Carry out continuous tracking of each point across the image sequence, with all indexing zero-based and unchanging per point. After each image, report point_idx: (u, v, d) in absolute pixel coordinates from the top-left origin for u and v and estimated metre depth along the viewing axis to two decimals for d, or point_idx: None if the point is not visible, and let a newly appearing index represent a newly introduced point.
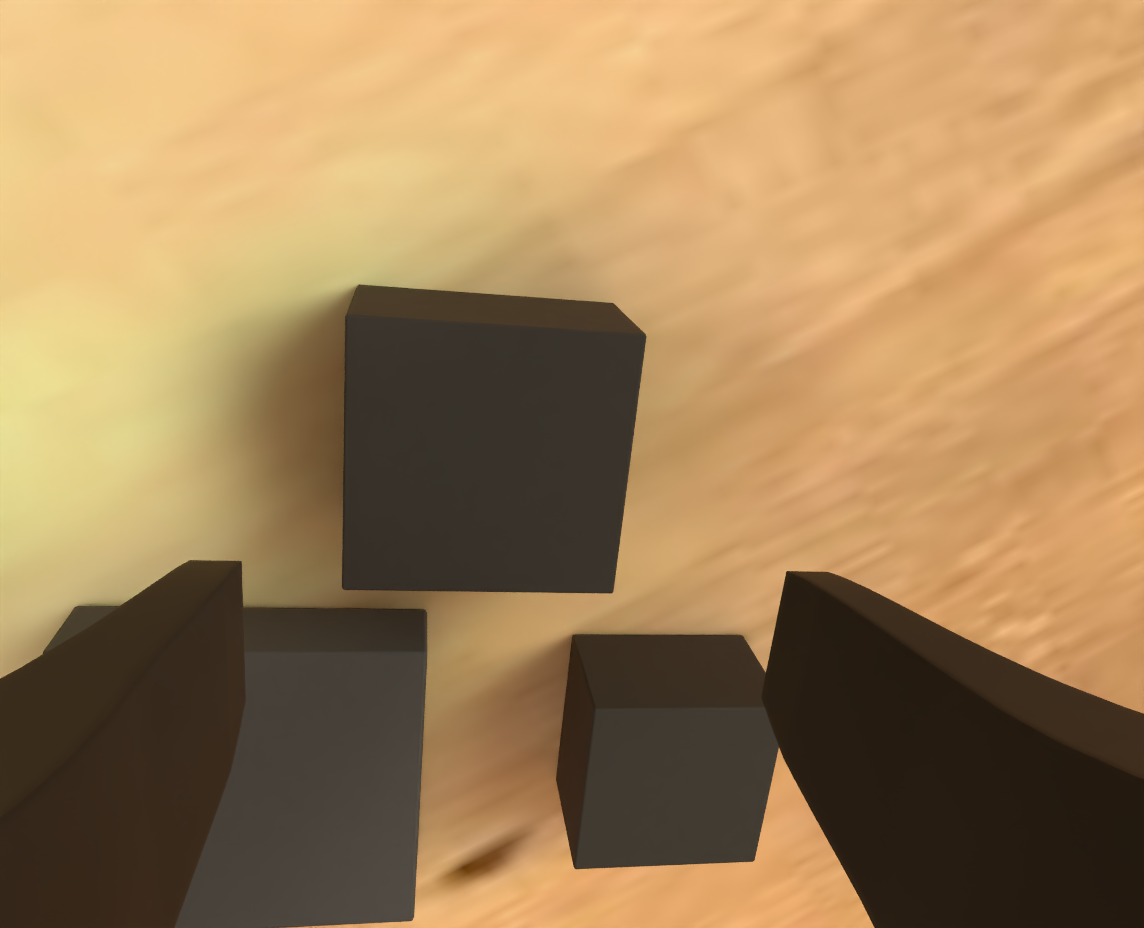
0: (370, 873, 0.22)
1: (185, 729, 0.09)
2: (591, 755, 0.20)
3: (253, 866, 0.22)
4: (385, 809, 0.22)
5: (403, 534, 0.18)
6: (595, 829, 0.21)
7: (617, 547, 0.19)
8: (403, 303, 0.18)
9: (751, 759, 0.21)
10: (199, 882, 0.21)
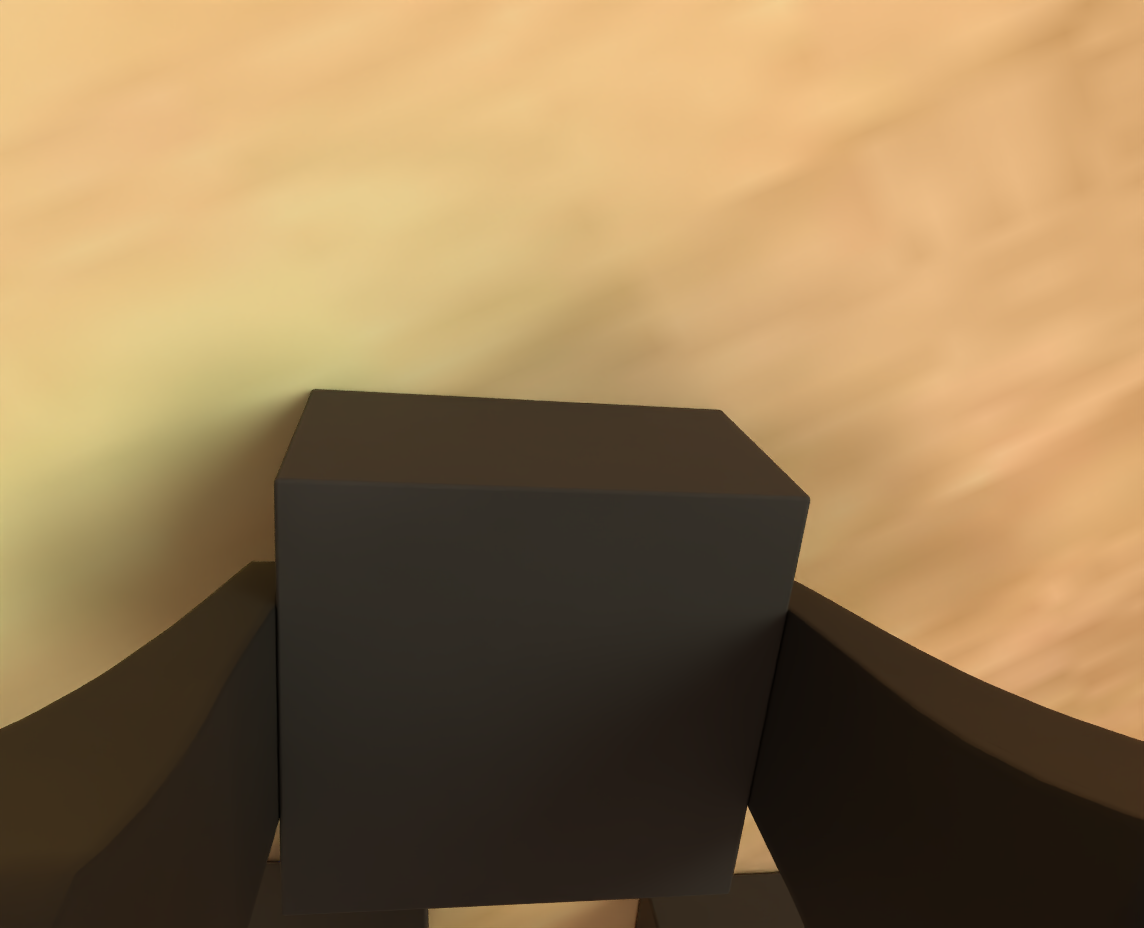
0: None
1: (261, 728, 0.09)
2: None
3: None
4: None
5: (384, 828, 0.10)
6: None
7: (740, 827, 0.11)
8: (384, 436, 0.10)
9: None
10: None
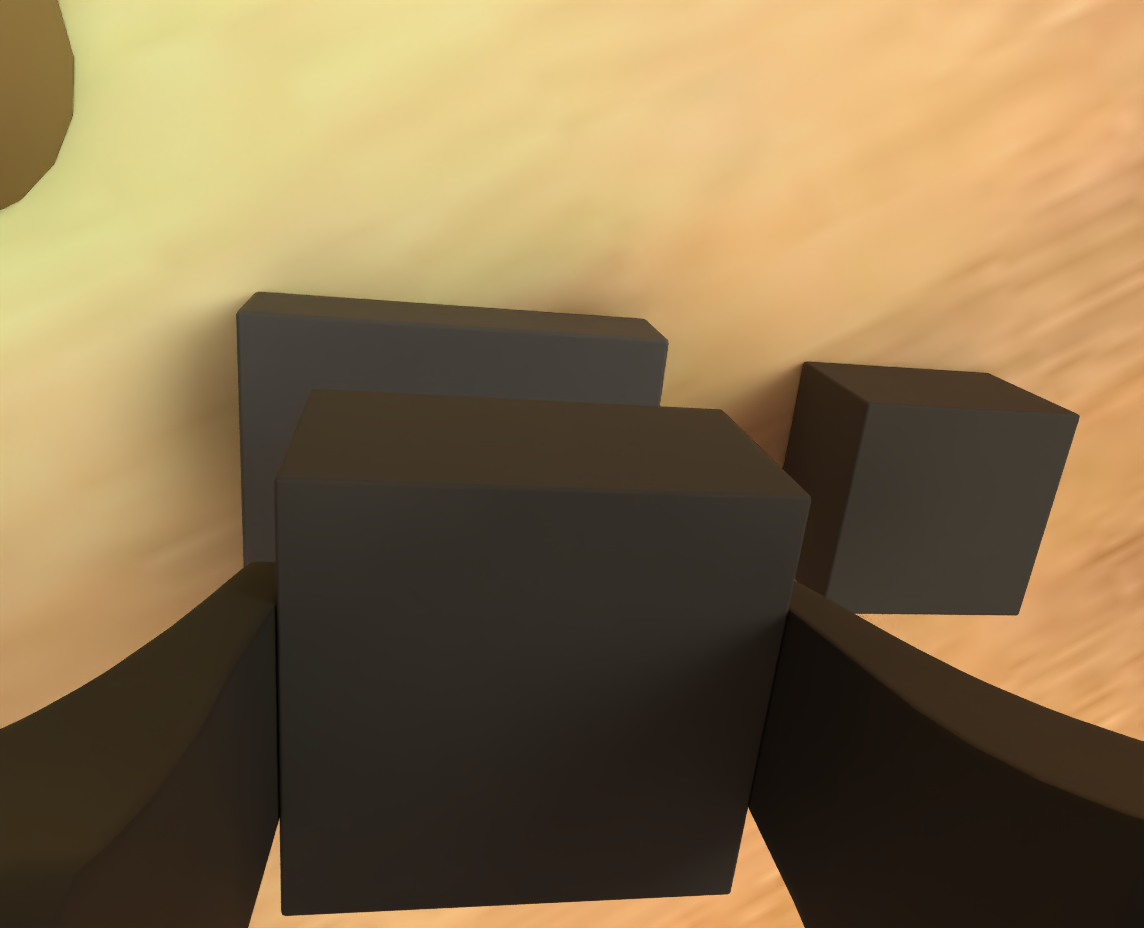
0: None
1: (261, 729, 0.09)
2: (858, 465, 0.18)
3: None
4: None
5: (384, 829, 0.10)
6: (851, 562, 0.18)
7: (741, 828, 0.11)
8: (384, 435, 0.10)
9: (1032, 481, 0.18)
10: None
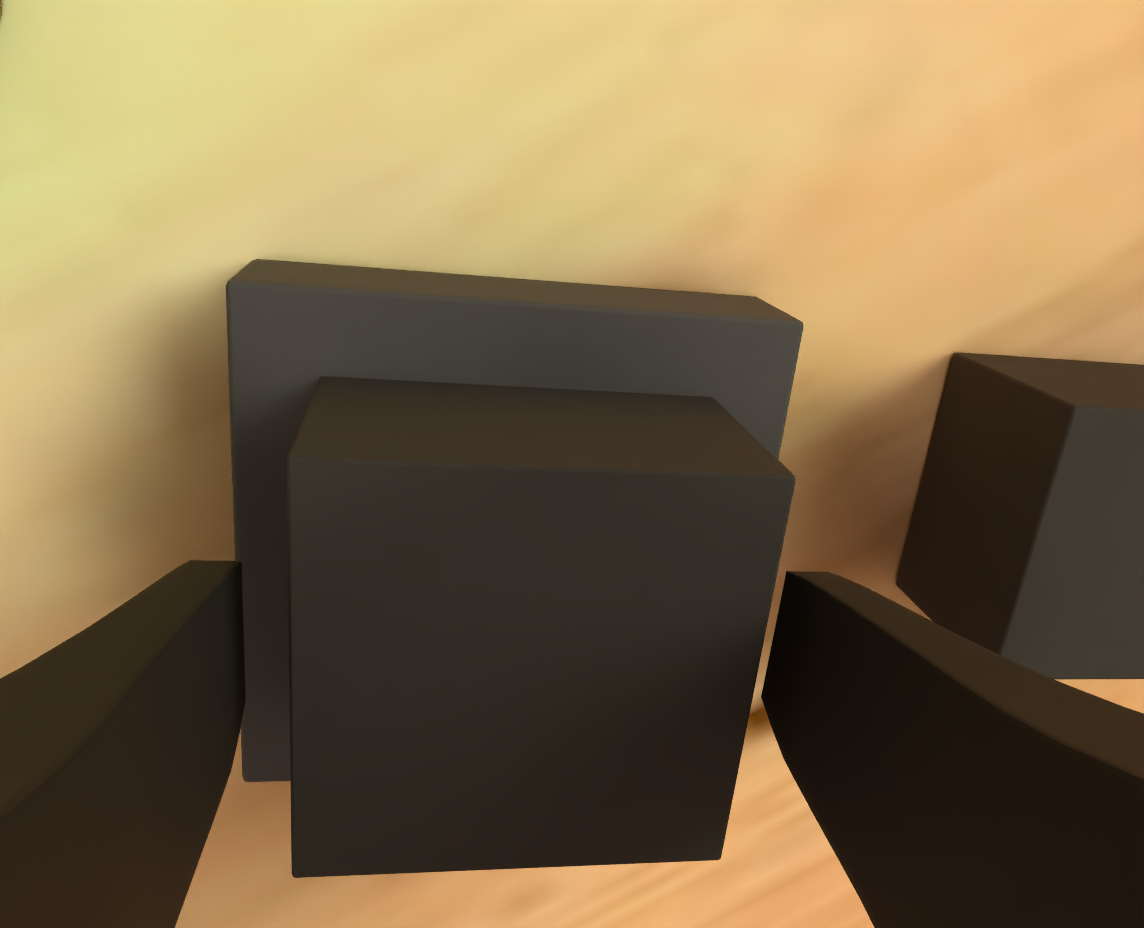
0: None
1: (186, 729, 0.09)
2: (1054, 487, 0.13)
3: None
4: None
5: (389, 793, 0.11)
6: (1034, 614, 0.14)
7: (731, 795, 0.12)
8: (390, 419, 0.11)
9: None
10: None
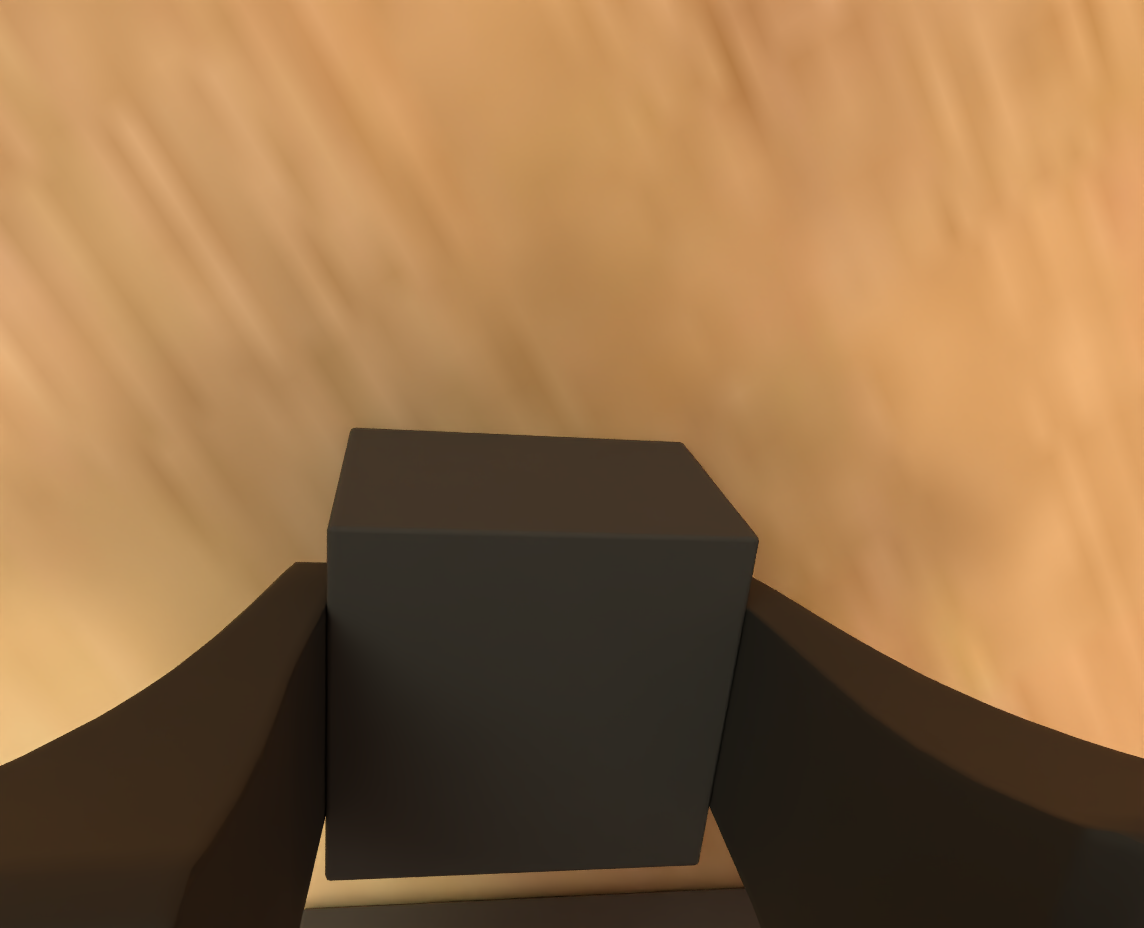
0: None
1: (313, 727, 0.09)
2: (433, 873, 0.11)
3: None
4: None
5: None
6: (609, 845, 0.11)
7: None
8: None
9: (468, 586, 0.09)
10: None
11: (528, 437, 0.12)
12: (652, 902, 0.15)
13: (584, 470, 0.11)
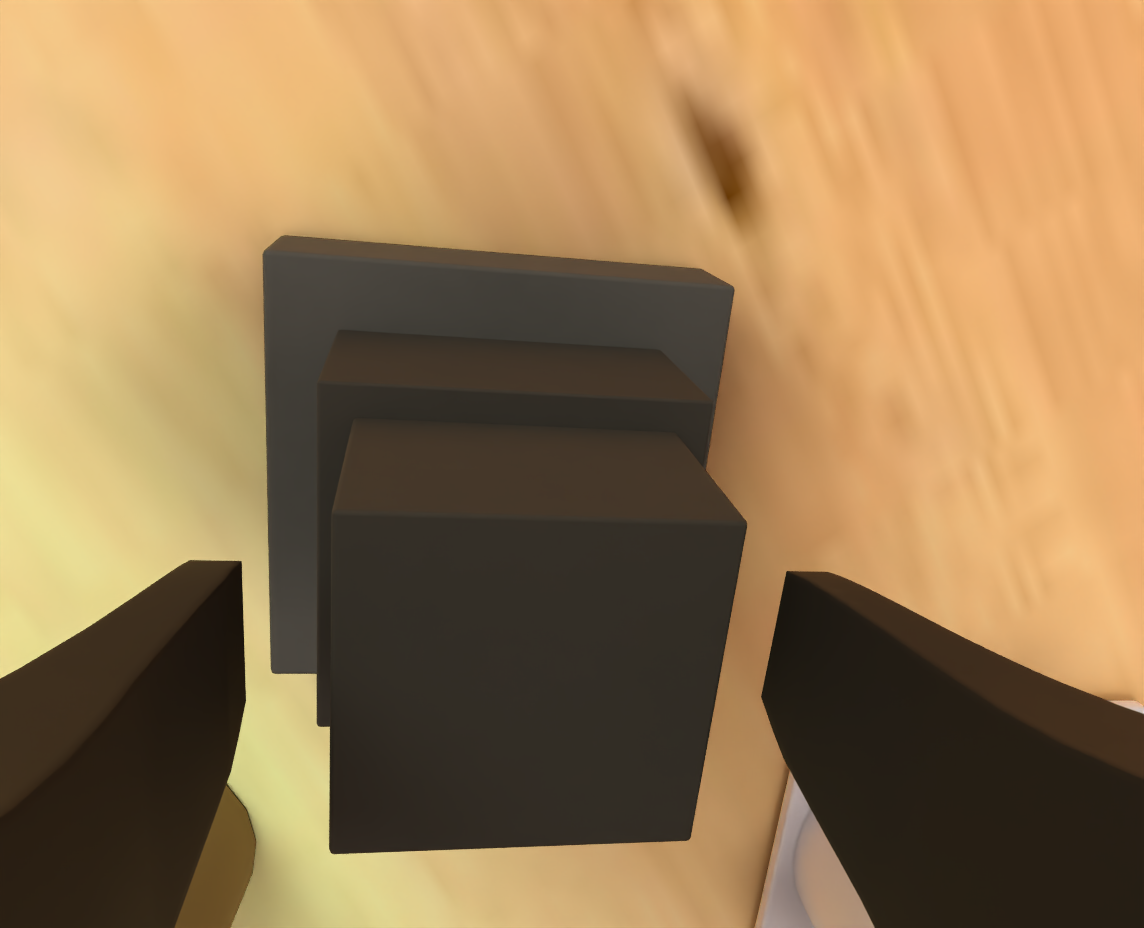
0: (635, 342, 0.16)
1: (186, 730, 0.09)
2: (433, 847, 0.11)
3: None
4: (528, 317, 0.15)
5: None
6: (603, 821, 0.11)
7: (641, 400, 0.13)
8: None
9: (467, 568, 0.10)
10: None
11: (525, 427, 0.13)
12: (600, 261, 0.17)
13: (580, 458, 0.12)
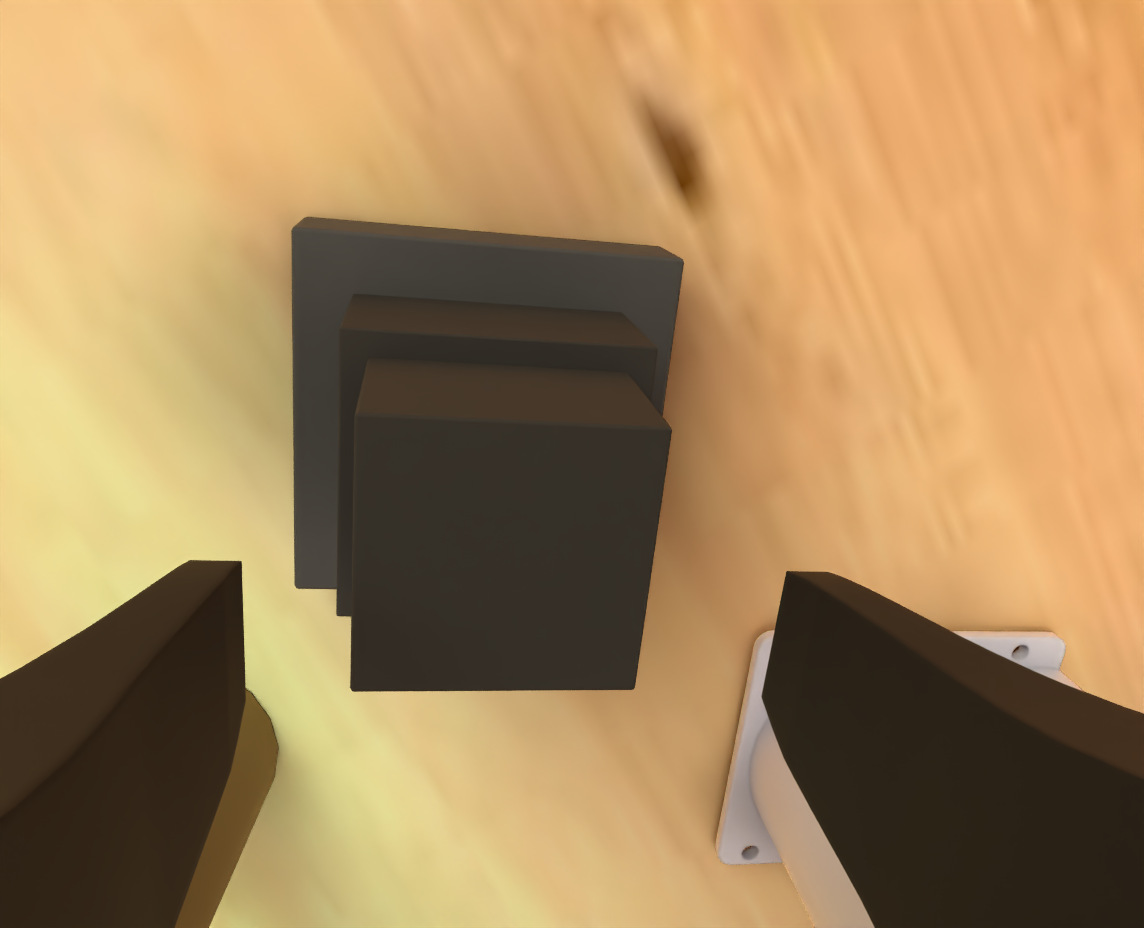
0: (601, 305, 0.19)
1: (186, 729, 0.09)
2: (431, 688, 0.14)
3: None
4: (511, 284, 0.19)
5: None
6: (565, 670, 0.15)
7: (599, 345, 0.16)
8: None
9: (457, 460, 0.13)
10: None
11: (505, 366, 0.16)
12: (573, 240, 0.20)
13: (547, 387, 0.15)
